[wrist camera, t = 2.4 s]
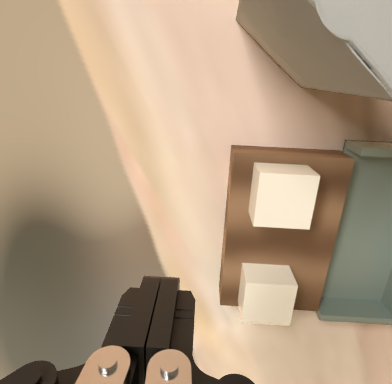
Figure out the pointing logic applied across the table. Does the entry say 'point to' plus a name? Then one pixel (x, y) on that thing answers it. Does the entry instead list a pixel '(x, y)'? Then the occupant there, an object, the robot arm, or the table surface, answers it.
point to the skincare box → (326, 42)
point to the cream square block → (266, 294)
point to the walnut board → (283, 237)
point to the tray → (363, 242)
